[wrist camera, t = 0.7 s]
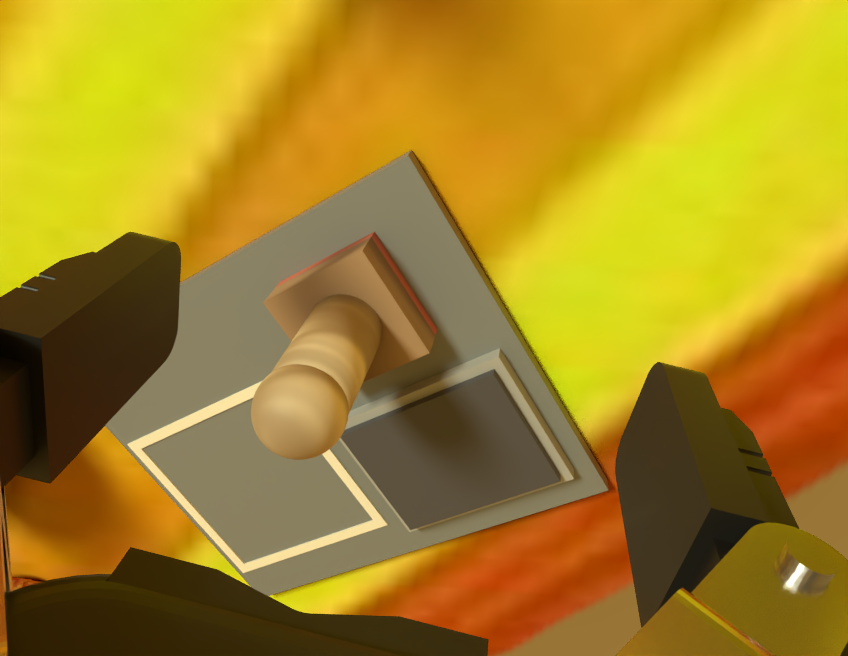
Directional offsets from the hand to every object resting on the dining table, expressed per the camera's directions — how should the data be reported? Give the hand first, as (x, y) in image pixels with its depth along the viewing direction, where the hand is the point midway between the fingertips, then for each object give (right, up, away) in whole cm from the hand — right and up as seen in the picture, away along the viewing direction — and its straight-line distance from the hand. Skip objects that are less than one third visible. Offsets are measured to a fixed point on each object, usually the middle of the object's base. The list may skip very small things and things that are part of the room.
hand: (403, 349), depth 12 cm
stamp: (-3, +1, +22) cm, 22 cm away
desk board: (-5, -4, +27) cm, 27 cm away
